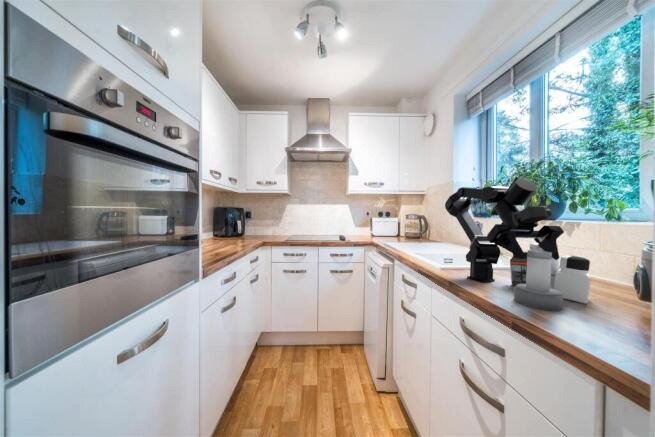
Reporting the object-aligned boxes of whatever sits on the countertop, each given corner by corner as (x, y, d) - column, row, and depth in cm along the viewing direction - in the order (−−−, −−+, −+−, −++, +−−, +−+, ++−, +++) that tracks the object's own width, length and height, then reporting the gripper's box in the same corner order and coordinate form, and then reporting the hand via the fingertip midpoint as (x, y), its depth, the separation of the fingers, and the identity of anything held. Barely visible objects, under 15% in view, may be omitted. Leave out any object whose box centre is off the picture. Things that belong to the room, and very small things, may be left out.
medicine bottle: (586, 298, 74) (592, 257, 73) (587, 304, 69) (593, 260, 68) (554, 291, 79) (559, 253, 78) (552, 296, 74) (557, 255, 73)
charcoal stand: (505, 299, 71) (506, 285, 71) (528, 295, 75) (529, 282, 75) (547, 312, 62) (548, 296, 62) (571, 308, 65) (572, 292, 65)
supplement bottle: (522, 284, 87) (520, 250, 88) (539, 287, 81) (536, 252, 82) (506, 284, 87) (504, 251, 87) (522, 288, 81) (520, 252, 81)
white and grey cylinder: (521, 286, 70) (523, 250, 69) (533, 285, 71) (534, 249, 71) (542, 292, 65) (544, 253, 65) (554, 290, 67) (556, 252, 67)
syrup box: (562, 292, 77) (559, 243, 77) (538, 290, 79) (535, 244, 79) (553, 287, 82) (551, 242, 82) (531, 286, 84) (528, 242, 85)
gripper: (495, 195, 72) (525, 238, 61) (559, 197, 73) (599, 240, 62) (477, 222, 80) (500, 264, 69) (534, 223, 81) (566, 265, 70)
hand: (540, 258), depth 67 cm, fingers open, 9 cm apart
